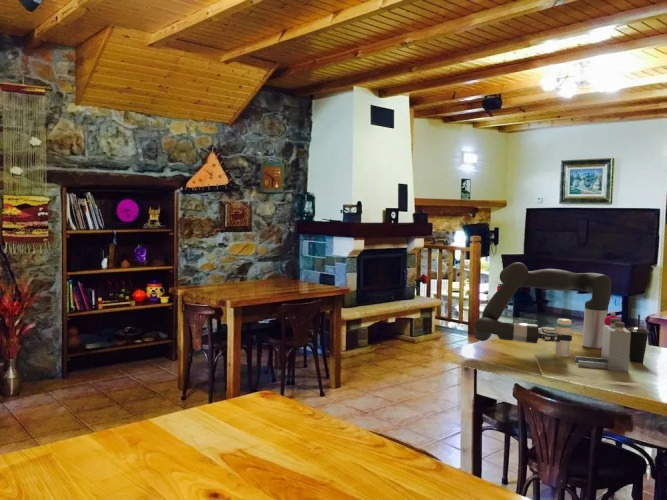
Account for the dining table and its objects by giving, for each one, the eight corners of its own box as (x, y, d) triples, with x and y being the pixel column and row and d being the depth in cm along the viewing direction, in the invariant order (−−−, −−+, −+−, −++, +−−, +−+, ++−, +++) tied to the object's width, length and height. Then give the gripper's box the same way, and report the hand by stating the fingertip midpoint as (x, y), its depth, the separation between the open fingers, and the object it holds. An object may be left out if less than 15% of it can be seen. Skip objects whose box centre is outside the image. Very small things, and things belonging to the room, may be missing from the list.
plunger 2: (613, 338, 214) (614, 321, 213) (622, 339, 213) (623, 322, 212) (615, 340, 211) (616, 323, 210) (624, 340, 210) (625, 323, 209)
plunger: (608, 334, 221) (609, 317, 221) (617, 334, 221) (618, 318, 220) (610, 335, 218) (611, 319, 218) (619, 336, 218) (620, 319, 217)
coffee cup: (554, 352, 224) (556, 318, 223) (568, 353, 223) (570, 319, 222) (555, 355, 219) (558, 320, 218) (570, 357, 218) (572, 321, 217)
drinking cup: (621, 360, 230) (624, 312, 229) (639, 361, 231) (642, 312, 229) (632, 366, 222) (636, 316, 221) (651, 366, 223) (654, 316, 222)
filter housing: (573, 362, 226) (576, 323, 225) (620, 366, 221) (622, 326, 220) (579, 370, 214) (581, 328, 213) (628, 374, 210) (630, 332, 209)
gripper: (527, 327, 217) (574, 331, 212) (524, 320, 230) (568, 323, 226) (525, 346, 217) (573, 350, 213) (522, 338, 231) (567, 342, 227)
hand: (570, 336), depth 220 cm, fingers closed on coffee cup, 5 cm apart
